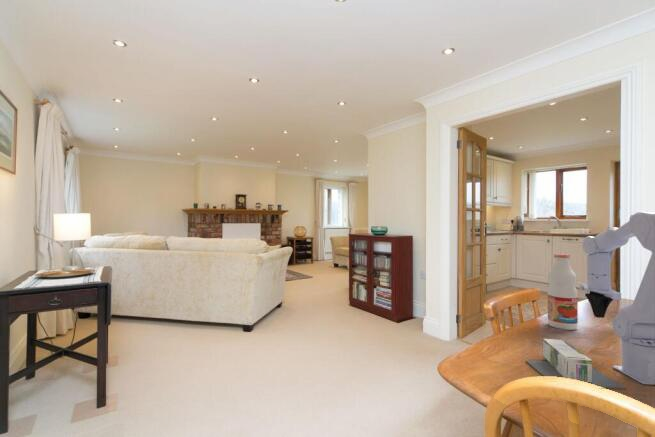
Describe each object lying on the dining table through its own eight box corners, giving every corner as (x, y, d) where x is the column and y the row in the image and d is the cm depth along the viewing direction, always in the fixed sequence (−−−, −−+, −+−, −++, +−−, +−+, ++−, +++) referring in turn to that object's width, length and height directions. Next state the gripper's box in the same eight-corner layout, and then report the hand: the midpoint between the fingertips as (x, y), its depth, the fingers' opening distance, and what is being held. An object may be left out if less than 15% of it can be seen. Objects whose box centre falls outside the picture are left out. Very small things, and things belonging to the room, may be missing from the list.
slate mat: (625, 389, 77) (625, 387, 77) (556, 386, 79) (556, 384, 79) (584, 363, 91) (584, 362, 91) (525, 361, 93) (525, 360, 93)
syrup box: (563, 359, 94) (594, 383, 79) (541, 357, 95) (567, 380, 81) (563, 339, 94) (594, 360, 80) (541, 337, 95) (567, 358, 81)
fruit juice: (561, 321, 129) (560, 253, 130) (584, 329, 120) (583, 255, 121) (541, 323, 128) (541, 253, 128) (563, 331, 118) (562, 256, 119)
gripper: (570, 270, 109) (570, 310, 109) (603, 278, 95) (603, 323, 95) (592, 270, 109) (592, 310, 108) (628, 278, 94) (629, 324, 94)
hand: (599, 317), depth 101 cm, fingers closed
